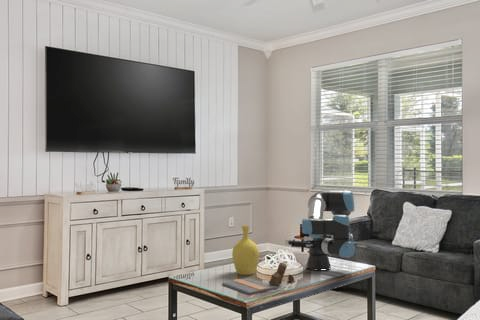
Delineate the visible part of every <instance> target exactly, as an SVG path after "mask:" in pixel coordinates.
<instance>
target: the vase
mask: <svg viewBox="0 0 480 320" xmlns="http://www.w3.org/2000/svg"><path fill="white" fill-rule="evenodd" d="M241 229H242V233H243V234H242V238H241V239H240V240H239V241H238V242H236V243H235V244H234V246H233V247H232V248H233V249H232V253H231V255H232V261H233V262H232V263H233V265H234V269H235V271H236V273H237V274H238V275H242V276H249V275H250V276H251V275H254V274H255V271H256V270H257V266H258V261H259V256H260V252H259V250H260V249H259V248H258V246H257V244H256V243H255V242H254V241H253V240H251V239H250V237H249V230H250V226H249V225H242V226H241Z"/></svg>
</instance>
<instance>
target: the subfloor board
mask: <svg viewBox="0 0 480 320" xmlns="http://www.w3.org/2000/svg"><path fill="white" fill-rule="evenodd" d="M221 285H222V286H225V287H227V288H231V289H233V290H236V291H238V292H241V293H244V294H247V295H249V296H251V295H255V294H256V295H257V294H259V293H263V292H264V293H265V292H268V291H269V292H270V291H273V290H277V289H278V286H277V285H276V286H273V285H270V284H269V283H266V282H263V281H261V280H257V279H253V278H250V277H244V278H237V279H233V280H229V281H222V282H221Z"/></svg>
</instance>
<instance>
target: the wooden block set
mask: <svg viewBox="0 0 480 320" xmlns="http://www.w3.org/2000/svg"><path fill="white" fill-rule="evenodd" d="M287 267H288V266H287V264H286V263H284V262H279V264H278V268H277V270H276V271H275V272H274V273H273V274H272V275H271V278H270V281H269V283H268V284H270V285H273V286H276V287H277V285H278V284H280V283H281V282H282V280H283V279H284V276H285V272H286V270H287ZM287 280H288V282H291V281H293V282H295V281H294V280H295V277H294V276H293V275H292V274H288V277H287Z"/></svg>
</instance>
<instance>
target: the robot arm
mask: <svg viewBox="0 0 480 320" xmlns="http://www.w3.org/2000/svg"><path fill="white" fill-rule="evenodd" d="M354 199H355V197H354V193H353V192H352V191H351V190H346V189H345V190H324V189H323V190H321V191H318V192H316V193H314V194H313V195H311V196H310V198H309V199H308V202H307V208H308V212H307V218H302V220H301V221H302V222H301V231H302V232H301V233H302V234H304V235H308V236H303V241H302V240H296V239H295V238H294V239H289V238H285V239H284V241H285V242H284V243H285V245H287V246H291V248H303V249H304V248H305V249H308V253H309V254H308V258H307V262H306V267H308V268H310V269H317V270H321V269H329V268H332V267H331V265H332V264H331V262H330V258H329V256H337V257H340V258H347V259H349V258H351V257H353V256H354V255H355V251H356V246H355V244H354V236H353V233H351V232H350V215H351V213H353V212H355V200H354ZM324 212H330V213H331V214H332V218H324ZM310 269H309V270H310Z"/></svg>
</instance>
